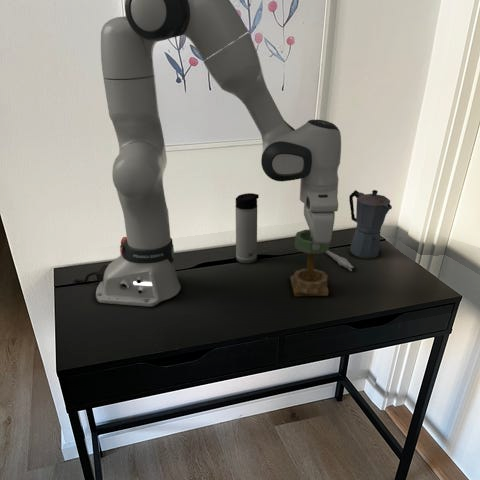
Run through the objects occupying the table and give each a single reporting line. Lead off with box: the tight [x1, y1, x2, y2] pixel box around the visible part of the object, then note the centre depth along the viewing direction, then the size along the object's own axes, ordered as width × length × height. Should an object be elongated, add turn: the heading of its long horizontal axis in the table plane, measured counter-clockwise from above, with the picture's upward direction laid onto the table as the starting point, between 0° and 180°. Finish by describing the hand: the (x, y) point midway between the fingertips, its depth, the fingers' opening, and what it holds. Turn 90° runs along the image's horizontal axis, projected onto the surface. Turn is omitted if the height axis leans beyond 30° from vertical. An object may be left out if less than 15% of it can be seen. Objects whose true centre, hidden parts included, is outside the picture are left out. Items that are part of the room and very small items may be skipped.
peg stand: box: [289, 253, 330, 297], centre depth 137 cm, size 9×9×14 cm
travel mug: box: [234, 192, 260, 264], centre depth 151 cm, size 6×7×20 cm
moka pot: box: [348, 189, 393, 260], centre depth 154 cm, size 10×15×20 cm, turn 42°
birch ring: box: [292, 268, 329, 294], centre depth 137 cm, size 9×9×3 cm
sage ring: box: [294, 229, 331, 255], centre depth 133 cm, size 9×9×3 cm
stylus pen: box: [325, 250, 355, 272], centre depth 154 cm, size 15×3×2 cm, turn 25°
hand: (314, 246), depth 130 cm, fingers closed on sage ring
